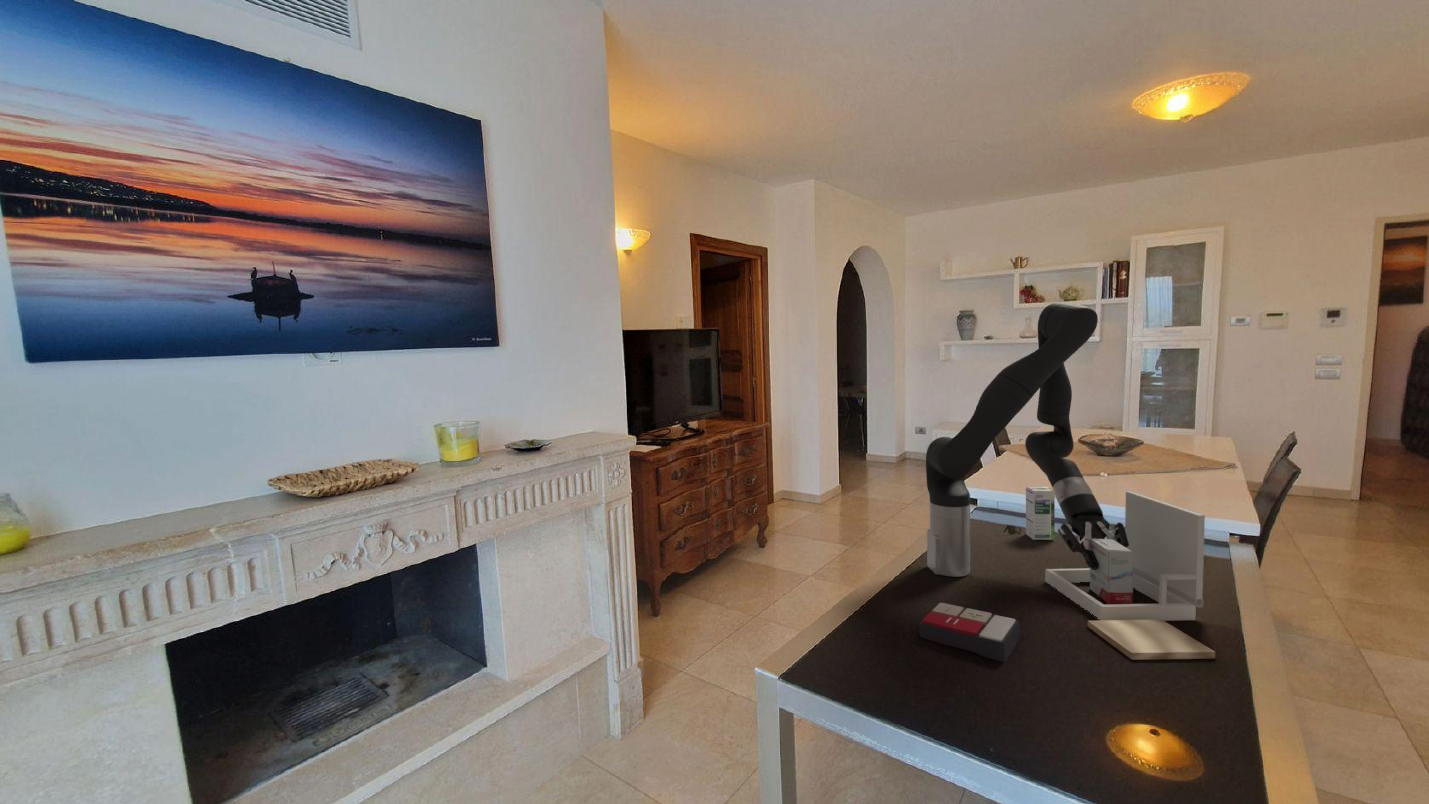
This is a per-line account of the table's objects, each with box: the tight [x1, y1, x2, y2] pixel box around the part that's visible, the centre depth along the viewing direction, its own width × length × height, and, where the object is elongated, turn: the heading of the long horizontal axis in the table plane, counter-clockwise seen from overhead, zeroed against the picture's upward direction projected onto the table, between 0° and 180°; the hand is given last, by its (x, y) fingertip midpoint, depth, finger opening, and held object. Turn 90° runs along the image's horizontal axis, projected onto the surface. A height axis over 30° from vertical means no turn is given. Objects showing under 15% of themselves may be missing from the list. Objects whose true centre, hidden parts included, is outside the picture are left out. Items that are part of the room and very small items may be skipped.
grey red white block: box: [918, 602, 1021, 663], centre depth 105 cm, size 11×4×15 cm
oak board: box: [1087, 619, 1216, 661], centre depth 102 cm, size 14×12×1 cm
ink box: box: [1089, 538, 1134, 604], centre depth 120 cm, size 9×5×12 cm, turn 169°
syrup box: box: [1025, 486, 1056, 541], centre depth 160 cm, size 6×6×14 cm
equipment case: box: [1044, 490, 1206, 622], centre depth 118 cm, size 19×20×21 cm
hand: (1109, 567), depth 120 cm, fingers closed on ink box, 5 cm apart
